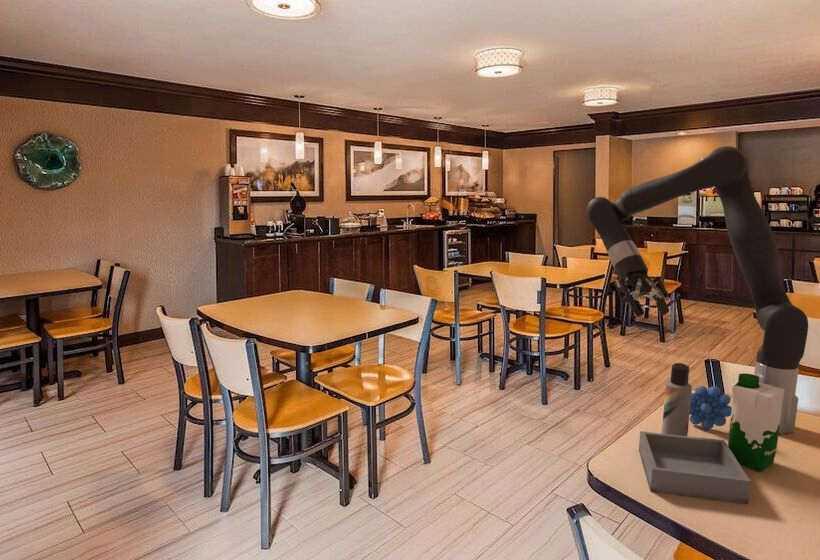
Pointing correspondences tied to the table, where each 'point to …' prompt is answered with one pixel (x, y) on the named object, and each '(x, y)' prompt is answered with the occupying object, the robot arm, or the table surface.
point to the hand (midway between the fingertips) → (653, 314)
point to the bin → (692, 467)
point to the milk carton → (754, 422)
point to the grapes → (709, 407)
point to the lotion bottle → (677, 401)
